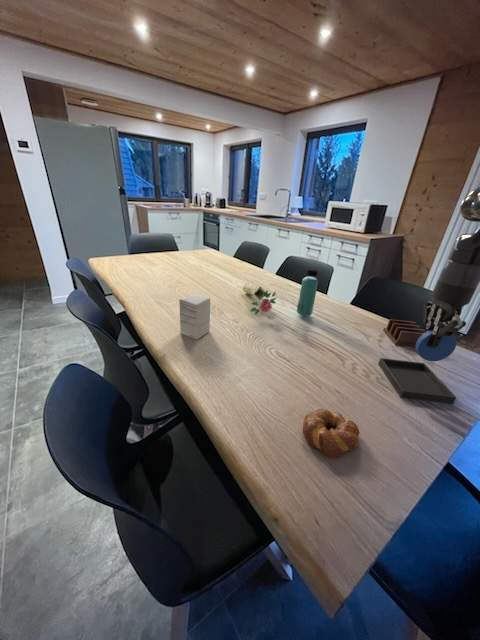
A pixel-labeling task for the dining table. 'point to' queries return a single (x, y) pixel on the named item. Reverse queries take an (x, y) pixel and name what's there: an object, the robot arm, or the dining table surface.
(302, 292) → the beverage bottle
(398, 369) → the tray
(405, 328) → the rack
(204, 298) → the white packaging box
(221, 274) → the dining table surface
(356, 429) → the braided bread ring
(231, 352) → the dining table surface
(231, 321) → the dining table surface
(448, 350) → the disc
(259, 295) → the flower vase
